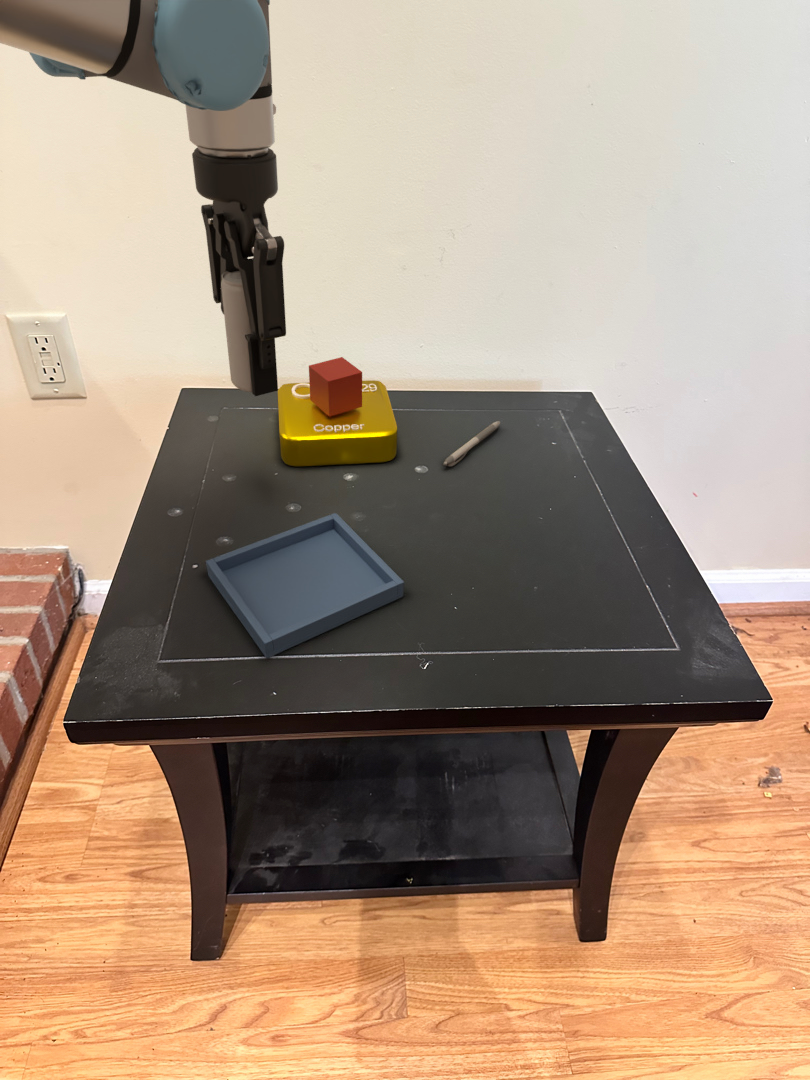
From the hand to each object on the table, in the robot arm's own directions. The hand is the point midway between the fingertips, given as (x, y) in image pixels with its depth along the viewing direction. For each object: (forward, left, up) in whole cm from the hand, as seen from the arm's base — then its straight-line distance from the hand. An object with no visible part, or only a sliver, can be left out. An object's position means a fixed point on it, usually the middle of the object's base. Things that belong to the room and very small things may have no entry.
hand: (254, 381), depth 81 cm
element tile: (+13, +5, -14) cm, 20 cm away
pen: (+27, -7, -14) cm, 32 cm away
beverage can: (0, 0, -1) cm, 1 cm away
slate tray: (-5, -19, -14) cm, 24 cm away
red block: (+13, +5, -9) cm, 17 cm away
